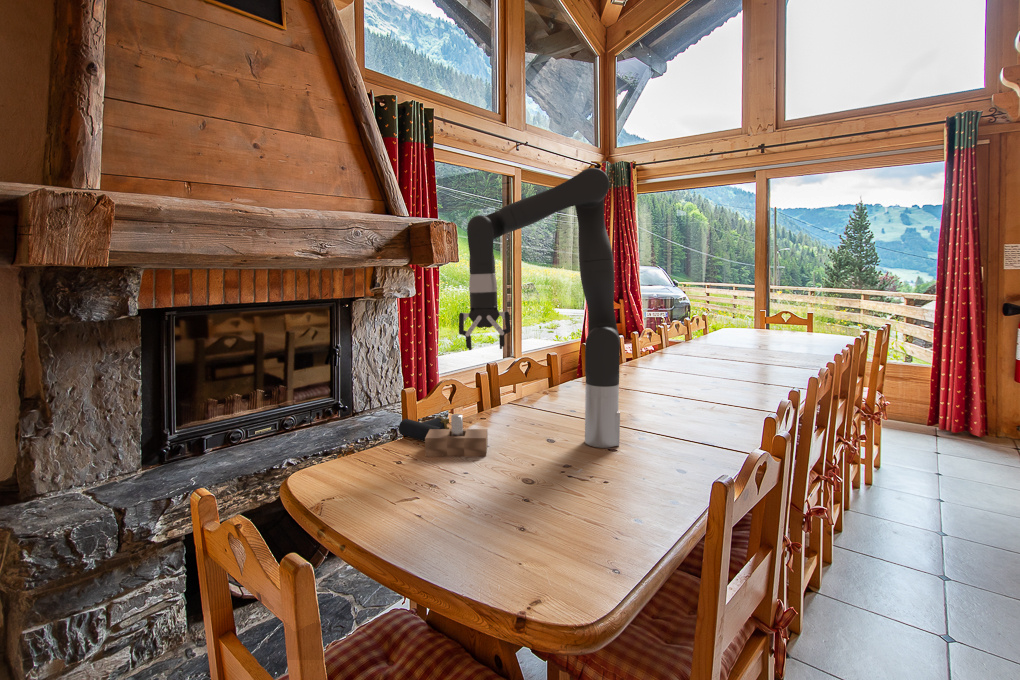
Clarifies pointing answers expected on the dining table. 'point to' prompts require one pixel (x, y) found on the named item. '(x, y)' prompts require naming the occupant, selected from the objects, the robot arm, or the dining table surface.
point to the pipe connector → (421, 427)
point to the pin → (457, 424)
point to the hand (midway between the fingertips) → (485, 349)
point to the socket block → (456, 443)
